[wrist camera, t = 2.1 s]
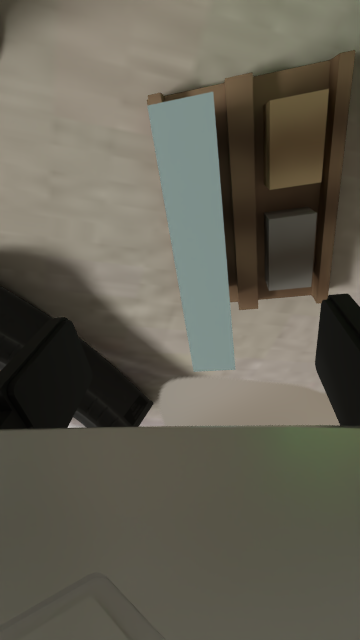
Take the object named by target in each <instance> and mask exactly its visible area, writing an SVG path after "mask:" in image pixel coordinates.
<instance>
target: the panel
mask: <svg viewBox="0 0 360 640" xmlns="http://www.w3.org/2000/svg"><path fill="white" fill-rule="evenodd" d="M148 112H149V117H150V123H151V129H152V135H153V140H154V146H155V152H156V158H157V163H158V169H159V175H160V181H161V186H162V192H163V198H164V203H165V209H166V215H167V221H168V226H169V232H170V238H171V244H172V249H173V255H174V261H175V267H176V272H177V278H178V284H179V289H180V295H181V301H182V307H183V312H184V318H185V324H186V330H187V335H188V341H189V347H190V353H191V358H192V364H193V370H194V372H196V371H216V370H235V360H234V347H233V335H232V322H231V310H230V297H229V284H228V272H227V259H226V247H225V234H224V222H223V209H222V196H221V184H220V171H219V159H218V146H217V133H216V121H215V108H214V96H213V92H209V93H204V94H199V95H195V96H190V97H185V98H181V99H176V100H171V101H167V102H162V103H157V104H153V105H148Z"/></svg>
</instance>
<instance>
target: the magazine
mask: <svg viewBox="0 0 360 640" xmlns="http://www.w3.org/2000/svg"><path fill="white" fill-rule="evenodd" d="M49 319H51V317H49V316H48V315H46V314H45V313H43V312H42V311H40V310H38V309H37V308H35V307H34V306H32V305H30V304H29V303H27V302H25V301H24V300H22V299H21V298H19V297H17V296H16V295H14V294H12V293H11V292H9V291H7V290H6V289H4V288H2V287H1V286H0V370H2V369H3V368H4V367H5V366H6V365H7V364H8V363H9V362H10V360H11V359H12V358H13V357H14V356H15V355H16V354H17V353H18V352H19V351H20V350H21V349H22V348H23V347H24V346H25V345H26V344H27V342H28V341H29V340H30V339H31V338H32V337H33V336H34V335H35V334H36V333H37V332H38V331H39V330H40V329H41V328H42V327H43V325H44V324H45V323H46V322H47V321H48V320H49ZM79 340H80V342H81V345H82V347H83V350H84V352H85V355H86V357H87V360H88V362H89V365H90V367H91V370H92V373H93V378H92V381H91V383H90V385H89V387H88V389H87V391H86V393H85V395H84V397H83V399H82V400H81V402H80V404H79V406H78V408H77V410H76V412H75V414H74V416H73V417H74V418H75V419H77V420H78V421H79V422H81V423H82V424H83V425H84V426H86V427H87V428H91V427H139V425H140V424H141V422H142V420H143V419H144V417H145V416H146V414H147V413H148V411H149V410H150V408H151V407H152V405H153V404H154V403H153V402H152V400H151V401H150V400H149V399H148V398H147V397H146V396H145V395H144V394H142V393H141V392H140V391H139V390H138V389H137V388H136V387H135V386H134V385H133V384H132V383H131V382H130V381H129V380H128V379H126V378H125V377H124V376H123V375H122V374H121V373H120V372H119V371H118V370H117V369H116V368H115V367H113V366H112V365H111V364H110V363H109V362H108V361H107V360H106V359H104V358H103V357H102V356H101V355H100V354H99V353H97V352H96V351H95V350H94V349H92V348H91V347H90V346H89V345H87V344H86V343H85V342H84V341H82V340H81V339H80V338H79Z"/></svg>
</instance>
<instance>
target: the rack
mask: <svg viewBox="0 0 360 640" xmlns="http://www.w3.org/2000/svg"><path fill="white" fill-rule="evenodd" d="M354 59H355V50H353V51H348V52H343V53H340V54H338V55H337V56H335V57H334V58H333V59H331V60H328V61H323V62H319V63H314V64H310V65H305V66H300V67H296V68H291V69H287V70H282V71H277V72H273V73H268V74H264V75H259V76H254V77H253V74H252V73H248V74H243V75H239V76H234V77H230V78H225V82H224V83H222V84H217V85H213V86H208V87H204V88H199V89H194V90H190V91H185V92H181V93H176V94H171V95H167V96H163V95H162V94H161V93H157V94H152V95H148V100H147V104H148V105H153V104H157V103H162V102H167V101H171V100H176V99H181V98H185V97H190V96H195V95H199V94H204V93H209V92H213V96H214V108H215V121H216V133H217V146H218V159H219V171H220V184H221V196H222V209H223V222H224V234H225V247H226V259H227V272H228V284H229V297H230V302H238V304H239V310H246V309H258V300H260V299H272V298H283V297H294V296H305V295H312V296H313V298H314V300H315V301H316V303H322V300H326V299H327V298H328V291H329V282H330V273H331V264H332V255H333V246H334V237H335V228H336V219H337V210H338V202H339V193H340V184H341V175H342V166H343V157H344V148H345V139H346V130H347V121H348V112H349V104H350V95H351V86H352V77H353V68H354ZM325 89H329V95H328V107H327V119H326V131H325V144H324V156H323V168H322V180H321V182H319V183H313V184H306V185H299V186H293V187H286V188H279V189H273V190H269V189H268V188H267V187H266V186H265V185H264V150H263V105H265V104H266V103H267V102H269V101H270V100H275V99H280V98H285V97H290V96H295V95H300V94H305V93H310V92H315V91H320V90H325ZM307 206H308V207H309V208H311V209H312V210H313V211H315V212H316V213H317V219H316V232H315V245H314V258H313V270H312V283H311V287H304V288H294V289H283V290H272V291H269V289H268V286H267V284H266V281H265V248H264V212H271V211H278V210H286V209H293V208H300V207H307Z"/></svg>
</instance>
